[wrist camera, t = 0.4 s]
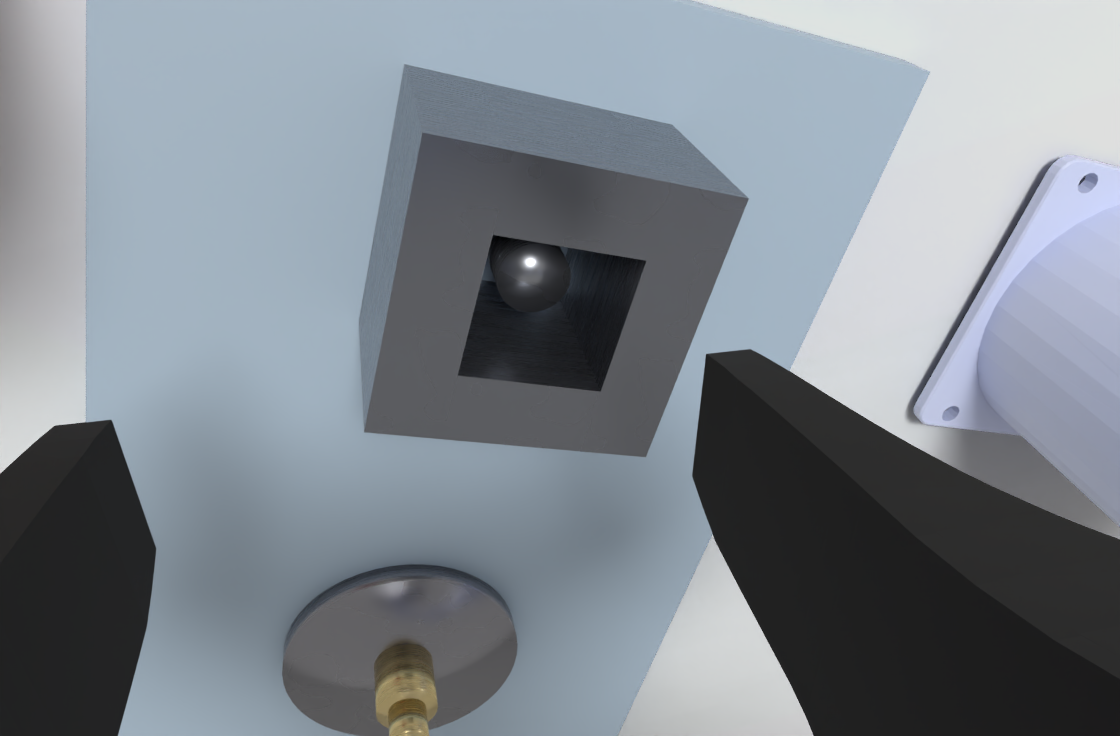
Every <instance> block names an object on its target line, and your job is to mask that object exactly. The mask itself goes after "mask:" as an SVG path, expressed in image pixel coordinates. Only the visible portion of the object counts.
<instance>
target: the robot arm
mask: <svg viewBox="0 0 1120 736" xmlns="http://www.w3.org/2000/svg"><path fill="white" fill-rule="evenodd" d="M1085 175H1086V177H1085V180H1084V181H1083V182H1082V183H1081V184H1080V185H1079V182H1080V180H1081V179H1082V178H1083V177H1084V176H1085ZM947 408H948V409H947ZM946 409H947V410H946ZM945 410H946V411H945ZM944 411H945V412H944ZM914 414H915V415H916V417H917V418H918V419H919V420H920V421H921V422H922V423H923V424H926V425H931V426H940V427H949V428H957V429H966V430H975V431H983V432H992V433H1001V434H1010V435H1018V436H1022V437H1023V438H1024V439H1025V440H1026V441H1027V442H1028V443H1030V444H1031V445H1032V446H1033V447H1034V448H1035V449H1036V450H1037V451H1038V452H1039V453H1040V454H1041V455H1042V456H1044V457H1045V458H1046V459H1047V460H1048V461H1049V462H1050V463H1051V464H1052V465H1053V466H1054V467H1055V468H1056V469H1058V470H1059V471H1060V472H1061V473H1062V474H1063V475H1064V476H1065V477H1066V478H1067V479H1068V480H1069V481H1070V482H1072V483H1073V484H1074V485H1075V486H1076V487H1077V488H1078V489H1079V490H1080V491H1081V492H1082V493H1083V494H1085V495H1086V496H1087V497H1088V498H1089V499H1090V500H1091V501H1092V502H1093V503H1094V504H1095V505H1096V506H1097V507H1099V508H1100V509H1101V510H1102V511H1103V512H1104V513H1105V514H1106V515H1107V516H1108V517H1109V518H1110V519H1111V520H1113V521H1114V522H1115V523H1116V524H1117V525H1118V526H1119V527H1120V167H1118V166H1114V165H1111V164H1107V163H1103V162H1099V161H1095V160H1091V159H1087V158H1083V157H1079V156H1075V155H1066V156H1064V157H1061V158H1059V159H1058V160H1057V161H1056V162H1054V163H1053V164H1052V165H1051V167H1050V168H1049V169H1048V171H1047V173H1046V174H1045V176H1044V178H1043V180H1042V181H1041V183H1040V185H1039V187H1038V188H1037V190H1036V192H1035V194H1034V195H1033V197H1032V199H1031V201H1030V202H1029V204H1028V206H1027V208H1026V210H1025V211H1024V213H1023V215H1022V217H1021V218H1020V220H1019V222H1018V224H1017V225H1016V227H1015V229H1014V231H1013V232H1012V234H1011V236H1010V238H1009V239H1008V241H1007V243H1006V245H1005V247H1004V248H1003V250H1002V252H1001V254H1000V255H999V257H998V259H997V261H996V262H995V264H994V266H993V268H992V269H991V271H990V273H989V275H988V276H987V278H986V280H985V282H984V284H983V285H982V287H981V289H980V291H979V292H978V294H977V296H976V298H975V299H974V301H973V303H972V305H971V306H970V308H969V310H968V312H967V313H966V315H965V317H964V319H963V321H962V322H961V324H960V326H959V328H958V329H957V331H956V333H955V335H954V336H953V338H952V340H951V342H950V343H949V345H948V347H947V349H946V350H945V352H944V354H943V356H942V358H941V359H940V361H939V363H938V365H937V366H936V368H935V370H934V372H933V373H932V375H931V377H930V379H929V380H928V382H927V384H926V386H925V387H924V389H923V391H922V393H921V395H920V396H919V398H918V400H917V402H916V404H915V406H914ZM692 478H693V480H694V483H695V486H696V489H697V492H698V495H699V498H700V501H701V504H702V507H703V509H704V512H705V515H706V518H707V520H708V523H709V525H710V528H711V531H712V533H713V536H714V539H715V541H716V543H717V545H718V547H719V549H720V551H721V553H722V555H723V557H724V559H725V561H726V563H727V565H728V567H729V569H730V571H731V572H732V574H733V576H734V578H735V580H736V582H737V584H738V586H739V588H740V590H741V592H742V594H743V595H744V597H745V599H746V601H747V603H748V605H749V607H750V609H751V610H752V612H753V614H754V616H755V618H756V620H757V622H758V624H759V626H760V627H761V629H762V631H763V633H764V635H765V637H766V639H767V641H768V642H769V644H770V646H771V648H772V650H773V652H774V654H775V656H776V658H777V659H778V661H779V663H780V665H781V667H782V669H783V671H784V673H785V674H786V676H787V678H788V680H789V682H790V684H791V686H792V688H793V690H794V692H795V694H796V697H797V699H798V701H799V703H800V705H801V707H802V709H803V711H804V713H805V715H806V718H807V720H808V723H809V725H810V727H811V730H812V732H813V735H814V736H1120V540H1119V539H1117V538H1114V537H1111V536H1109V535H1106V534H1103V533H1101V532H1098V531H1095V530H1093V529H1090V528H1087V527H1085V526H1082V525H1079V524H1077V523H1075V522H1072V521H1070V520H1067V519H1065V518H1062V517H1060V516H1057V515H1055V514H1052V513H1050V512H1048V511H1045V510H1043V509H1041V508H1039V507H1036V506H1034V505H1032V504H1030V503H1028V502H1025V501H1023V500H1021V499H1019V498H1016V497H1014V496H1012V495H1010V494H1008V493H1005V492H1003V491H1001V490H999V489H996V488H994V487H992V486H990V485H988V484H986V483H984V482H982V481H980V480H978V479H975V478H973V477H971V476H969V475H967V474H965V473H963V472H961V471H959V470H957V469H956V468H954V467H952V466H950V465H948V464H946V463H944V462H942V461H941V460H939V459H937V458H935V457H933V456H931V455H929V454H928V453H926V452H924V451H922V450H920V449H918V448H916V447H914V446H913V445H911V444H909V443H907V442H906V441H904V440H902V439H900V438H899V437H897V436H895V435H893V434H892V433H890V432H888V431H886V430H885V429H883V428H881V427H879V426H878V425H876V424H874V423H873V422H871V421H869V420H868V419H866V418H864V417H863V416H861V415H859V414H858V413H856V412H854V411H853V410H851V409H849V408H848V407H846V406H845V405H843V404H841V403H840V402H838V401H836V400H835V399H833V398H832V397H830V396H828V395H827V394H825V393H824V392H822V391H820V390H819V389H817V388H816V387H814V386H812V385H811V384H809V383H808V382H806V381H804V380H803V379H801V378H800V377H798V376H796V375H795V374H793V373H791V372H790V371H788V370H787V369H785V368H783V367H782V366H780V365H778V364H777V363H775V362H773V361H772V360H770V359H768V358H766V357H765V356H763V355H761V354H759V353H757V352H755V351H753V350H751V349H746V350H737V351H728V352H719V353H710V354H706V358H705V367H704V376H703V384H702V393H701V402H700V410H699V419H698V428H697V436H696V445H695V454H694V462H693V471H692ZM155 557H156V546H155V543H154V540H153V537H152V535H151V532H150V529H149V526H148V523H147V520H146V517H145V514H144V511H143V509H142V506H141V503H140V500H139V497H138V494H137V491H136V488H135V486H134V483H133V480H132V477H131V474H130V471H129V468H128V465H127V462H126V460H125V457H124V454H123V451H122V448H121V445H120V442H119V439H118V436H117V434H116V431H115V428H114V425H113V422H112V420H103V421H94V422H85V423H76V424H67V425H58V426H54V427H53V428H52V429H50V430H49V431H48V432H47V433H45V434H44V435H43V436H42V437H41V438H39V439H38V440H37V441H36V442H35V443H34V444H32V445H31V446H30V447H29V448H28V449H27V450H26V451H25V452H24V453H22V454H21V455H20V456H19V457H18V458H17V459H16V460H15V461H14V462H13V463H11V464H10V465H9V466H8V467H7V468H6V469H5V470H4V471H3V472H2V473H1V474H0V736H118V734H119V730H120V726H121V723H122V719H123V715H124V712H125V708H126V704H127V701H128V697H129V693H130V690H131V686H132V682H133V678H134V675H135V671H136V667H137V663H138V659H139V656H140V652H141V648H142V644H143V640H144V636H145V632H146V628H147V623H148V615H149V608H150V601H151V594H152V585H153V576H154V567H155Z"/></svg>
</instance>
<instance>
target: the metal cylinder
mask: <svg viewBox="0 0 1120 736" xmlns="http://www.w3.org/2000/svg"><path fill="white" fill-rule="evenodd" d="M487 258H488V261H489V264H490V267H491V270H492V273H493V276H494V279H495V282H496V285H497V288H498V291H499V293H500V296H501V297H502V299H503V300H504V301H505V302H506V303H507V304H508V305H509V306H511V307H512V308H514V309H516V310H519V311H523V312H539V311H542V310H545V309H548V308H550V307H552V306H553V305H555V304H556V303H557V302H559V301H560V300H561V299H562V297H563V296H564V295H565V293H566V292H567V290H568V287H569V285H570V280H571V271H570V267H569V264H568V262H567V260H566V258H565V256H564V254H563V252H562V250H561V248H560V246H556V245H550V244H544V243H538V242H532V241H526V240H520V239H514V238H508V237H503V236H497V235H493V236H492V240H491V244H490V248H489V252H488V256H487Z"/></svg>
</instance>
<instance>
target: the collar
mask: <svg viewBox="0 0 1120 736" xmlns="http://www.w3.org/2000/svg"><path fill="white" fill-rule="evenodd" d="M748 200H749V198H748V197H747V196H746V195H745V194H744V193H743V192H742V191H741V190H740V189H738V188H737V187H736V186H735V185H734V184H733V183H732V182H731V181H730V180H729V179H728V178H727V177H726V176H725V175H724V174H723V173H722V172H721V171H720V170H719V169H718V168H717V167H716V166H715V165H714V164H713V163H712V162H711V161H709V160H708V159H707V158H706V157H705V156H704V155H703V154H702V153H701V152H700V151H699V150H698V149H697V148H696V147H695V146H694V145H693V144H692V143H691V142H690V141H689V140H688V139H687V138H686V137H685V136H684V135H683V134H681V133H680V132H679V131H678V130H677V129H676V128H675V127H674V126H673V125H671V124H667V123H663V122H658V121H654V120H649V119H645V118H640V117H636V116H632V115H627V114H623V113H618V112H614V111H610V110H605V109H601V108H596V107H592V106H588V105H583V104H579V103H574V102H570V101H565V100H561V99H557V98H552V97H548V96H543V95H539V94H535V93H530V92H526V91H521V90H517V89H513V88H508V87H504V86H499V85H495V84H490V83H486V82H482V81H477V80H473V79H468V78H464V77H460V76H455V75H451V74H446V73H442V72H438V71H433V70H429V69H424V68H420V67H415V66H411V65H407V64H404V68H403V74H402V80H401V85H400V91H399V97H398V102H397V108H396V113H395V119H394V125H393V130H392V136H391V142H390V147H389V153H388V159H387V164H386V170H385V175H384V181H383V187H382V192H381V198H380V204H379V209H378V215H377V221H376V226H375V232H374V237H373V243H372V249H371V254H370V260H369V266H368V271H367V277H366V283H365V288H364V294H363V299H362V305H361V311H360V316H359V338H360V359H361V380H362V402H363V423H364V432H365V433H376V434H387V435H399V436H410V437H421V438H433V439H444V440H455V441H467V442H478V443H489V444H501V445H512V446H523V447H535V448H546V449H557V450H569V451H580V452H591V453H603V454H614V455H625V456H637V457H646V456H647V453H648V451H649V448H650V446H651V443H652V441H653V438H654V436H655V433H656V431H657V428H658V426H659V423H660V421H661V418H662V416H663V413H664V411H665V408H666V406H667V403H668V401H669V398H670V396H671V393H672V391H673V388H674V386H675V383H676V380H677V378H678V375H679V373H680V370H681V368H682V365H683V363H684V360H685V358H686V355H687V353H688V350H689V348H690V345H691V343H692V340H693V338H694V335H695V333H696V330H697V328H698V325H699V323H700V320H701V318H702V315H703V313H704V310H705V308H706V305H707V303H708V300H709V298H710V295H711V293H712V290H713V288H714V285H715V283H716V280H717V278H718V275H719V273H720V270H721V267H722V265H723V262H724V260H725V257H726V255H727V252H728V250H729V247H730V245H731V242H732V240H733V237H734V235H735V232H736V230H737V227H738V225H739V222H740V220H741V217H742V215H743V212H744V210H745V207H746V205H747V202H748ZM493 235H497V236H503V237H508V238H514V239H520V240H526V241H532V242H538V243H544V244H550V245H556V246H562V247H568V251H567V254H566V257H565V258H566V260H567V262H568V264H569V267H570V271H571V280H570V285H569V287H568V290H567V292H566V293H565V295H564V296H563V297H562V299H561V300H560V301H559V302H557V303H556V304H555V305H553V306H552V307H550V308H548V309H545V310H542V311H539V312H523V311H519V310H516V309H514V308H512V307H511V306H509V305H508V304H507V303H506V302H505V301H504V300H503V299H502V297H501V296H500V293H499V291H498V288H497V285H496V282H493V281H486V280H482V276H483V272H484V268H485V264H486V260H487V256H488V252H489V248H490V244H491V240H492V236H493Z"/></svg>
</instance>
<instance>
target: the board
mask: <svg viewBox="0 0 1120 736" xmlns="http://www.w3.org/2000/svg"><path fill="white" fill-rule="evenodd" d="M404 64H407V65H411V66H415V67H420V68H424V69H429V70H433V71H438V72H442V73H446V74H451V75H455V76H460V77H464V78H468V79H473V80H477V81H482V82H486V83H490V84H495V85H499V86H504V87H508V88H513V89H517V90H521V91H526V92H530V93H535V94H539V95H543V96H548V97H552V98H557V99H561V100H565V101H570V102H574V103H579V104H583V105H588V106H592V107H596V108H601V109H605V110H610V111H614V112H618V113H623V114H627V115H632V116H636V117H640V118H645V119H649V120H654V121H658V122H663V123H667V124H671V125H673V126H674V127H675V128H676V129H677V130H678V131H679V132H680V133H681V134H683V135H684V136H685V137H686V138H687V139H688V140H689V141H690V142H691V143H692V144H693V145H694V146H695V147H696V148H697V149H698V150H699V151H700V152H701V153H702V154H703V155H704V156H705V157H706V158H707V159H708V160H709V161H711V162H712V163H713V164H714V165H715V166H716V167H717V168H718V169H719V170H720V171H721V172H722V173H723V174H724V175H725V176H726V177H727V178H728V179H729V180H730V181H731V182H732V183H733V184H734V185H735V186H736V187H737V188H738V189H740V190H741V191H742V192H743V193H744V194H745V195H746V196H747V197H748V198H749V200H748V202H747V205H746V207H745V210H744V212H743V215H742V217H741V220H740V222H739V225H738V227H737V230H736V232H735V235H734V237H733V240H732V242H731V245H730V247H729V250H728V252H727V255H726V257H725V260H724V262H723V265H722V267H721V270H720V273H719V275H718V278H717V280H716V283H715V285H714V288H713V290H712V293H711V295H710V298H709V300H708V303H707V305H706V308H705V310H704V313H703V315H702V318H701V320H700V323H699V325H698V328H697V330H696V333H695V335H694V338H693V340H692V343H691V345H690V348H689V350H688V353H687V355H686V358H685V360H684V363H683V365H682V368H681V370H680V373H679V375H678V378H677V380H676V383H675V386H674V388H673V391H672V393H671V396H670V398H669V401H668V403H667V406H666V408H665V411H664V413H663V416H662V418H661V421H660V423H659V426H658V428H657V431H656V433H655V436H654V438H653V441H652V443H651V446H650V448H649V451H648V453H647V456H646V457H637V456H625V455H614V454H603V453H591V452H580V451H569V450H557V449H546V448H535V447H523V446H512V445H501V444H489V443H478V442H467V441H455V440H444V439H433V438H421V437H410V436H399V435H387V434H376V433H365V432H364V423H363V402H362V380H361V359H360V338H359V316H360V311H361V305H362V299H363V294H364V288H365V283H366V277H367V271H368V266H369V260H370V254H371V249H372V243H373V237H374V232H375V226H376V221H377V215H378V209H379V204H380V198H381V192H382V187H383V181H384V175H385V170H386V164H387V159H388V153H389V147H390V142H391V136H392V130H393V125H394V119H395V113H396V108H397V102H398V97H399V91H400V85H401V80H402V74H403V68H404ZM929 73H930V72H929V71H927V70H925V69H922V68H920V67H918V66H916V65H914V64H912V63H909V62H907V61H905V60H902V59H898V58H894V57H891V56H887V55H884V54H880V53H877V52H873V51H869V50H866V49H862V48H859V47H855V46H852V45H848V44H845V43H841V42H837V41H834V40H830V39H827V38H823V37H820V36H816V35H812V34H809V33H805V32H802V31H798V30H795V29H791V28H787V27H784V26H780V25H777V24H773V23H770V22H766V21H762V20H759V19H755V18H752V17H748V16H745V15H741V14H737V13H734V12H730V11H727V10H723V9H720V8H716V7H712V6H709V5H705V4H702V3H698V2H695V1H691V0H86V422H94V421H103V420H112V422H113V425H114V428H115V431H116V434H117V436H118V439H119V442H120V445H121V448H122V451H123V454H124V457H125V460H126V462H127V465H128V468H129V471H130V474H131V477H132V480H133V483H134V486H135V488H136V491H137V494H138V497H139V500H140V503H141V506H142V509H143V511H144V514H145V517H146V520H147V523H148V526H149V529H150V532H151V535H152V537H153V540H154V543H155V546H156V557H155V567H154V576H153V585H152V594H151V601H150V608H149V615H148V623H147V628H146V632H145V636H144V640H143V644H142V648H141V652H140V656H139V659H138V663H137V667H136V671H135V675H134V678H133V682H132V686H131V690H130V693H129V697H128V701H127V704H126V708H125V712H124V715H123V719H122V723H121V726H120V730H119V734H118V736H359V735H353V734H347V733H343V732H339V731H336V730H333V729H330V728H327V727H325V726H323V725H320V724H318V723H317V722H315V721H313V720H312V719H310V718H308V717H307V716H306V715H305V714H303V713H302V712H301V711H300V710H299V709H298V708H297V707H296V706H295V705H294V704H293V703H292V701H291V699H290V698H289V696H288V694H287V692H286V689H285V687H284V684H283V677H282V667H283V651H284V643H285V639H286V635H287V633H288V631H289V629H290V627H291V624H292V623H293V622H294V620H295V619H296V617H297V616H298V614H299V613H300V612H301V611H302V610H303V609H304V608H305V607H306V605H307V604H308V603H310V602H311V601H312V600H313V599H314V598H316V597H317V596H318V595H319V594H321V593H322V592H324V591H325V590H327V589H328V588H330V587H332V586H334V585H335V584H337V583H339V582H341V581H343V580H345V579H348V578H350V577H353V576H355V575H358V574H361V573H364V572H367V571H371V570H374V569H379V568H384V567H389V566H397V565H407V564H425V565H436V566H443V567H448V568H453V569H456V570H460V571H463V572H466V573H468V574H471V575H473V576H475V577H477V578H479V579H481V580H482V581H484V582H486V583H487V584H489V585H490V586H491V587H492V588H494V589H495V590H496V591H497V592H498V593H499V594H500V595H501V597H502V598H503V599H504V600H505V602H506V604H507V605H508V607H509V609H510V612H511V615H512V618H513V622H514V627H515V631H516V636H517V656H516V660H515V663H514V666H513V668H512V670H511V673H510V675H509V676H508V678H507V679H506V681H505V682H504V684H503V685H502V686H501V687H500V689H499V690H498V691H497V692H496V693H495V694H494V695H493V696H492V697H491V698H490V699H489V700H488V701H486V702H485V703H484V704H482V705H481V706H480V707H478V708H477V709H475V710H474V711H472V712H470V713H469V714H467V715H465V716H463V717H461V718H459V719H457V720H455V721H453V722H451V723H448V724H446V725H443V726H441V727H438V728H434V729H431V730H429V736H618V734H619V731H620V729H621V727H622V725H623V723H624V721H625V719H626V717H627V714H628V712H629V710H630V708H631V706H632V704H633V702H634V700H635V698H636V695H637V693H638V691H639V689H640V687H641V685H642V683H643V681H644V678H645V676H646V674H647V672H648V670H649V668H650V666H651V664H652V661H653V659H654V657H655V655H656V653H657V651H658V649H659V647H660V644H661V642H662V640H663V638H664V636H665V634H666V632H667V630H668V627H669V625H670V623H671V621H672V619H673V617H674V615H675V613H676V610H677V608H678V606H679V604H680V602H681V600H682V598H683V596H684V593H685V591H686V589H687V587H688V585H689V583H690V581H691V579H692V576H693V574H694V572H695V570H696V568H697V566H698V564H699V562H700V560H701V557H702V555H703V553H704V551H705V549H706V547H707V545H708V543H709V540H710V538H711V536H712V534H713V533H712V531H711V528H710V525H709V523H708V520H707V518H706V515H705V512H704V509H703V507H702V504H701V501H700V498H699V495H698V492H697V489H696V486H695V483H694V480H693V478H692V471H693V462H694V454H695V445H696V436H697V428H698V419H699V410H700V402H701V393H702V384H703V376H704V367H705V358H706V354H710V353H719V352H728V351H737V350H746V349H751V350H753V351H755V352H757V353H759V354H761V355H763V356H765V357H766V358H768V359H770V360H772V361H773V362H775V363H777V364H778V365H780V366H782V367H783V368H785V369H787V370H788V371H790V368H791V366H792V364H793V362H794V360H795V358H796V356H797V354H798V351H799V349H800V347H801V345H802V343H803V341H804V339H805V337H806V334H807V332H808V330H809V328H810V326H811V324H812V322H813V320H814V317H815V315H816V313H817V311H818V309H819V307H820V305H821V303H822V300H823V298H824V296H825V294H826V292H827V290H828V288H829V286H830V284H831V281H832V279H833V277H834V275H835V273H836V271H837V269H838V267H839V264H840V262H841V260H842V258H843V256H844V254H845V252H846V250H847V247H848V245H849V243H850V241H851V239H852V237H853V235H854V233H855V230H856V228H857V226H858V224H859V222H860V220H861V218H862V216H863V213H864V211H865V209H866V207H867V205H868V203H869V201H870V199H871V196H872V194H873V192H874V190H875V188H876V186H877V184H878V182H879V179H880V177H881V175H882V173H883V171H884V169H885V167H886V165H887V162H888V160H889V158H890V156H891V154H892V152H893V150H894V148H895V146H896V143H897V141H898V139H899V137H900V135H901V133H902V131H903V129H904V126H905V124H906V122H907V120H908V118H909V116H910V114H911V112H912V109H913V107H914V105H915V103H916V101H917V99H918V97H919V95H920V92H921V90H922V88H923V86H924V84H925V82H926V80H927V78H928V75H929ZM560 248H561V250H562V252H563V254H564V256H565V257H566V254H567V251H568V247H562V246H560ZM482 280H486V281H493V282H495V279H494V276H493V273H492V270H491V267H490V264H489V261H488V258H487V260H486V264H485V268H484V272H483V276H482Z"/></svg>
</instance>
